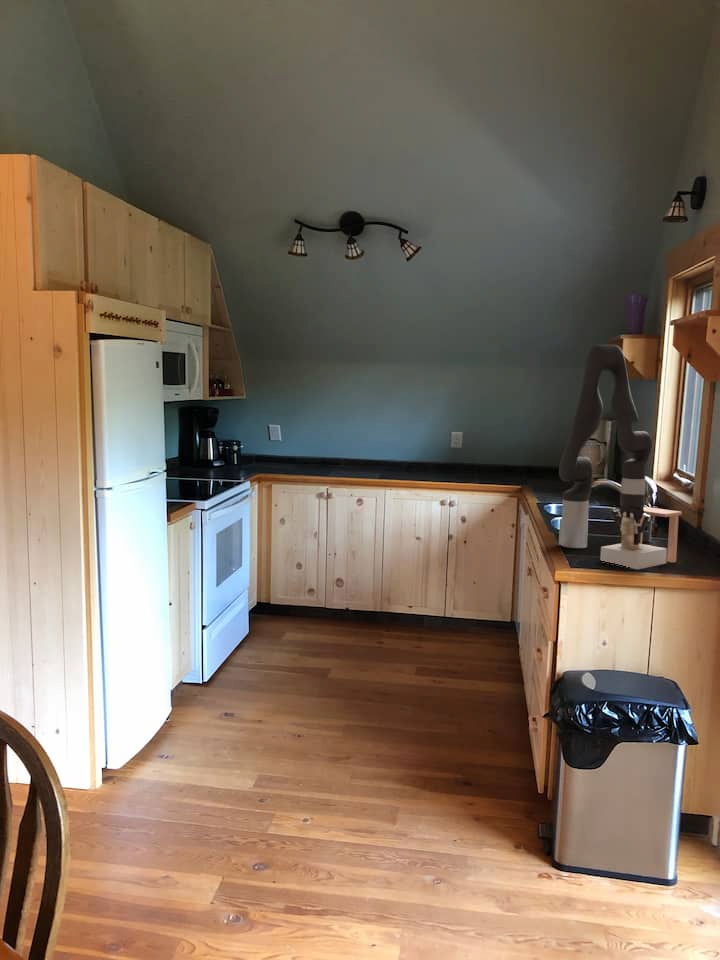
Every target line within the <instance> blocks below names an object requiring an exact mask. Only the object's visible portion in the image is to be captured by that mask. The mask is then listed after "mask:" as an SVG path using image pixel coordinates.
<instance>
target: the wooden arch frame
mask: <svg viewBox="0 0 720 960" xmlns="http://www.w3.org/2000/svg"><path fill="white" fill-rule="evenodd" d="M643 509H644V512H645V514H647V515H650V516H655V517H663V518H668V517H669V520H668V521H669V522H668V523H669V524H668V537H667V538H668V540H667V556H666V563H668V562H669V563H676V562H677V550H678V533H679V532H678V530H679V517H680V516H681V515H683V512H682V511H680V510H673V509H672V510H671V509H664V508H656V507H651V506H650V507H649V506H644V508H643ZM642 519H643V517H642V518H641V523H642V522H643V520H642ZM642 537H643V533H641V540H640V543H639V544H643V543H642Z"/></svg>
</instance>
